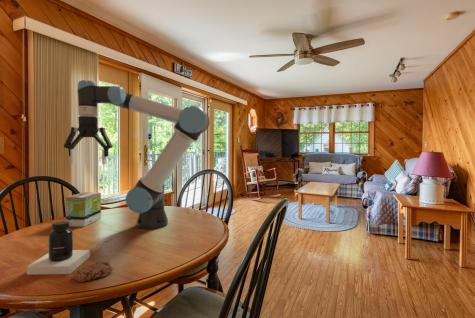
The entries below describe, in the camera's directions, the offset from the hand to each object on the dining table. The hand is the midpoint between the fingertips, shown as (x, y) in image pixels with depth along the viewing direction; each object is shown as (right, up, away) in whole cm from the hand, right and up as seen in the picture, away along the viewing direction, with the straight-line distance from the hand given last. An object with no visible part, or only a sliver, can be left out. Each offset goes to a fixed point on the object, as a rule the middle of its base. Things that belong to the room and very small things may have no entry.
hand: (88, 163), depth 122 cm
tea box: (-12, -31, +18) cm, 38 cm away
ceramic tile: (+8, -34, -31) cm, 46 cm away
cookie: (+22, -35, -37) cm, 55 cm away
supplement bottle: (+8, -31, -31) cm, 45 cm away
